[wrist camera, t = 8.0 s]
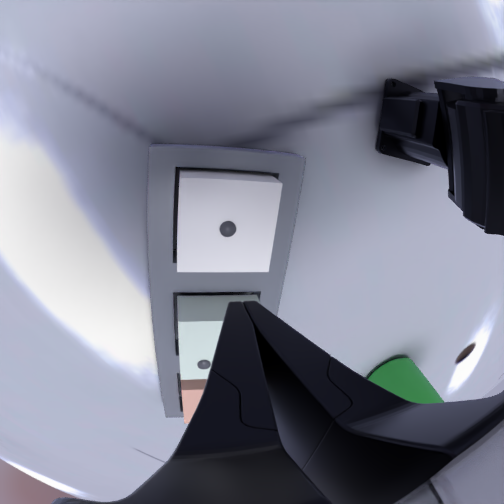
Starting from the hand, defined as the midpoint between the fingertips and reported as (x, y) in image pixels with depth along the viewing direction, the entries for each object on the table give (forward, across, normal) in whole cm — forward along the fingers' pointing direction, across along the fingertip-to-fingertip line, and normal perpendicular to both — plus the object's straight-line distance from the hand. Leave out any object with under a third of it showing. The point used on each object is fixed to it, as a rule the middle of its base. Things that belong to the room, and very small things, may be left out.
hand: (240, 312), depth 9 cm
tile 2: (+11, -1, +10) cm, 15 cm away
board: (+13, -1, +10) cm, 17 cm away
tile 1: (+12, -1, +1) cm, 12 cm away
